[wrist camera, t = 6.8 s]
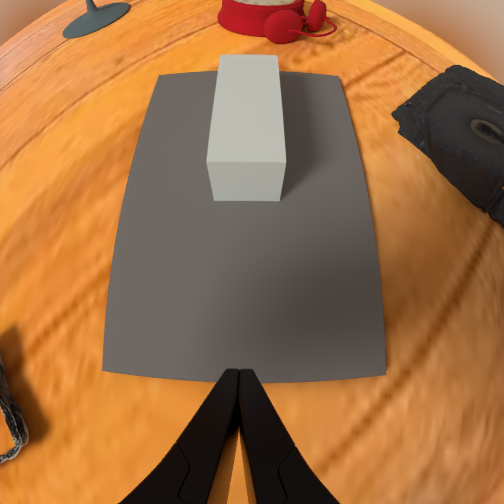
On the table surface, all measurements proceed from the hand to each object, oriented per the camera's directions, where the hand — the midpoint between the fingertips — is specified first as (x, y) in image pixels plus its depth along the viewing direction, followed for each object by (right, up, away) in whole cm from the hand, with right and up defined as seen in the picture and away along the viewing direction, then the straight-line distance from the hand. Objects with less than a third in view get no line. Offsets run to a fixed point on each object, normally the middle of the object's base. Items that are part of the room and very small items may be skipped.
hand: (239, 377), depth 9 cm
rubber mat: (0, +8, +11) cm, 13 cm away
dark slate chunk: (+24, +16, +15) cm, 32 cm away
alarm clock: (+3, +30, +19) cm, 36 cm away
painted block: (0, +8, +8) cm, 11 cm away
